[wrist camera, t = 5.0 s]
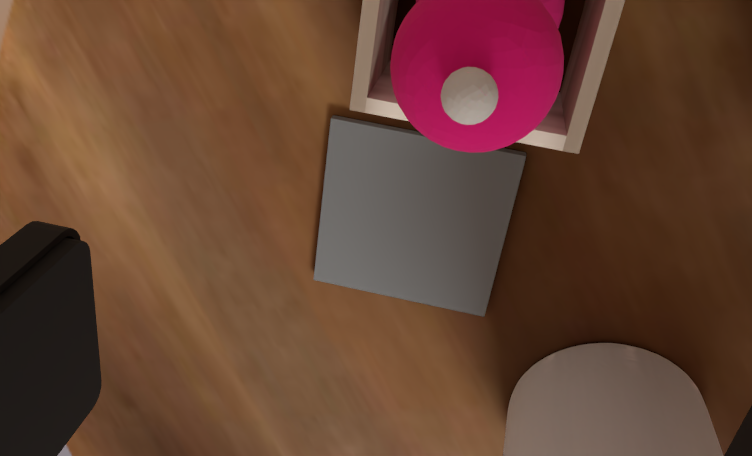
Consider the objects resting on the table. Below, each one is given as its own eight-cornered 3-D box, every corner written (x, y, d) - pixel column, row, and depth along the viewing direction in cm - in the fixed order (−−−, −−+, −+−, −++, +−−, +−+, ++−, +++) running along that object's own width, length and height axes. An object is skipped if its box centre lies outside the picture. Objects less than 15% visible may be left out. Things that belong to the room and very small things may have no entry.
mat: (526, 152, 42) (526, 156, 42) (484, 311, 48) (484, 316, 48) (333, 114, 44) (330, 118, 43) (315, 275, 49) (313, 279, 49)
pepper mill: (417, 43, 40) (339, 190, 23) (437, -94, 37) (361, -40, 20) (543, 63, 40) (559, 231, 22) (575, -75, 36) (624, -1, 19)
